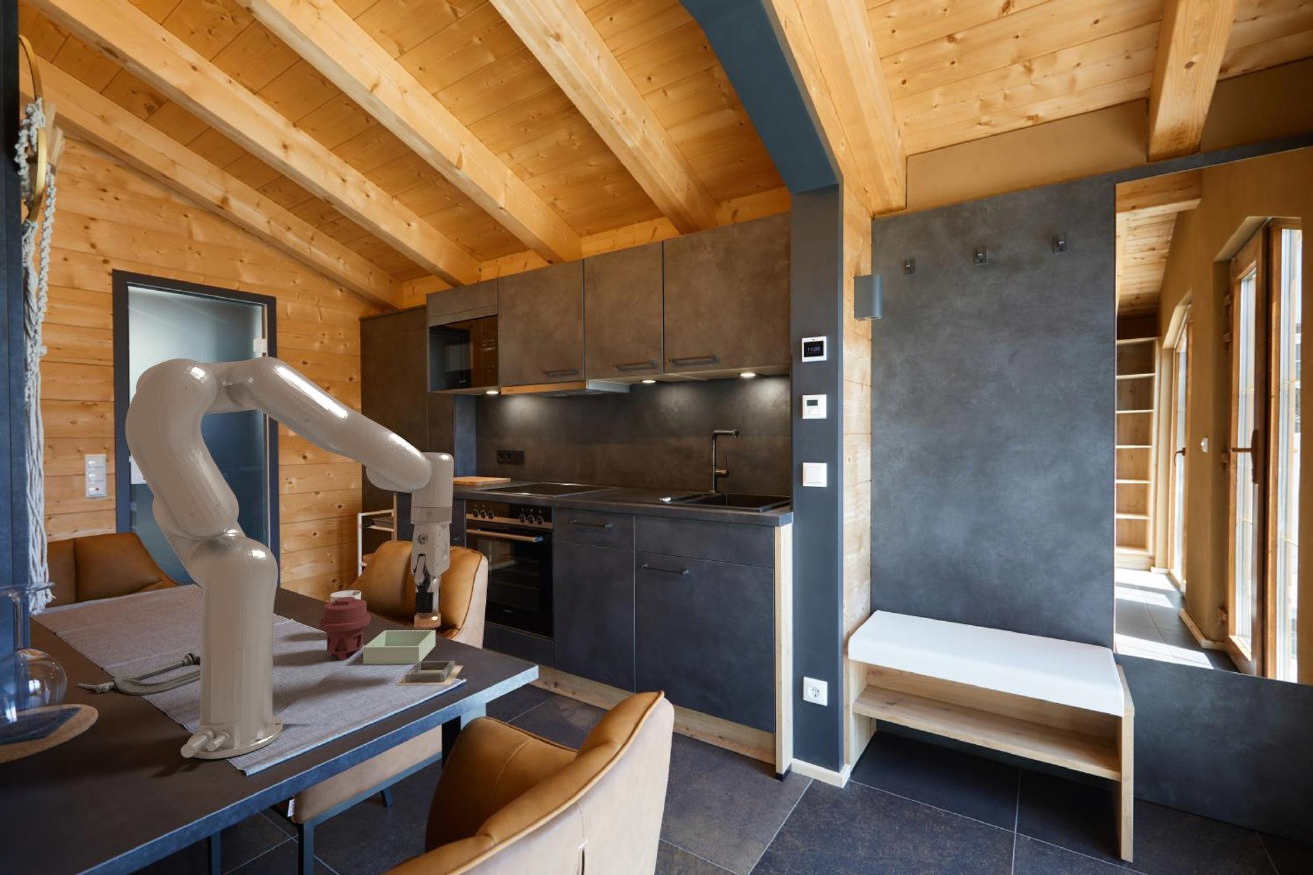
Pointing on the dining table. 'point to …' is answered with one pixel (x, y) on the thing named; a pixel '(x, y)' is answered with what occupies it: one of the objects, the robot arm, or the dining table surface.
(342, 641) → the mechanical component
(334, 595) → the white cup
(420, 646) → the bin
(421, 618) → the grey rounded tall piece
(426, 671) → the socket pad
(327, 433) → the robot arm
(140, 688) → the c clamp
